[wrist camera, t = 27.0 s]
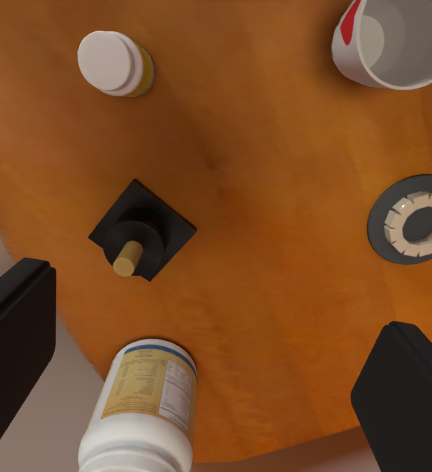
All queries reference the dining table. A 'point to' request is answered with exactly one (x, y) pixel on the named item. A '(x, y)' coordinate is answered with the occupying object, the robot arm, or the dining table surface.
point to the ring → (398, 219)
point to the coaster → (414, 225)
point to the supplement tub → (143, 412)
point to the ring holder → (141, 233)
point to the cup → (385, 43)
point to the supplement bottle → (116, 64)
